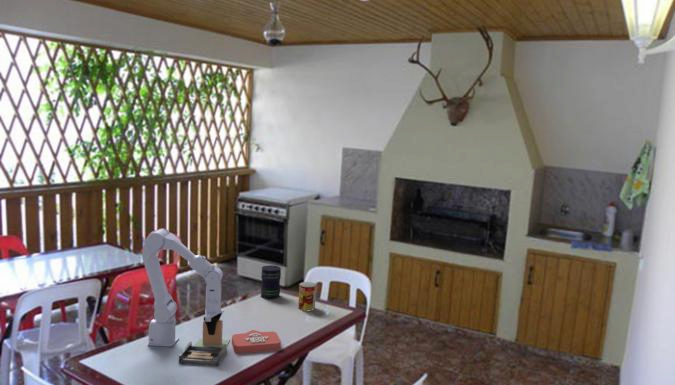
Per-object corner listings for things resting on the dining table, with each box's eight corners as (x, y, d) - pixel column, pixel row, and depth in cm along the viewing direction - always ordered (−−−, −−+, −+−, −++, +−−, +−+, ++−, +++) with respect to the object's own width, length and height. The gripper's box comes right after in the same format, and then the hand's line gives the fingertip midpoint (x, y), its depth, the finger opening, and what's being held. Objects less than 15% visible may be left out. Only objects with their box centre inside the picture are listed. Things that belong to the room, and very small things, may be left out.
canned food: (297, 305, 245) (298, 281, 243) (313, 305, 246) (314, 281, 245) (299, 311, 237) (300, 286, 236) (315, 311, 238) (317, 286, 237)
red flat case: (274, 327, 207) (281, 341, 193) (274, 335, 208) (281, 351, 194) (230, 330, 202) (235, 345, 188) (230, 339, 202) (234, 355, 188)
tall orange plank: (202, 344, 194) (203, 321, 193) (204, 341, 197) (204, 319, 196) (220, 345, 194) (221, 322, 193) (222, 342, 197) (222, 320, 196)
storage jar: (268, 300, 250) (269, 271, 248) (256, 295, 256) (257, 267, 255) (283, 296, 257) (285, 268, 256) (271, 292, 264) (272, 264, 262)
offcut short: (190, 360, 181) (190, 354, 181) (192, 357, 183) (192, 352, 183) (209, 361, 181) (210, 355, 181) (211, 358, 183) (211, 353, 183)
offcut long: (186, 363, 179) (187, 357, 179) (188, 360, 181) (189, 354, 181) (211, 364, 179) (211, 359, 178) (213, 362, 181) (213, 356, 180)
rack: (178, 363, 178) (178, 355, 177) (189, 349, 190) (189, 341, 189) (218, 366, 177) (218, 357, 177) (226, 351, 189) (226, 344, 189)
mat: (193, 347, 192) (193, 346, 191) (199, 339, 199) (199, 338, 199) (224, 349, 191) (224, 348, 191) (229, 340, 199) (229, 340, 199)
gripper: (218, 305, 186) (217, 341, 188) (228, 293, 201) (227, 326, 202) (200, 304, 186) (199, 339, 188) (210, 292, 201) (209, 325, 202)
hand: (212, 332), depth 195 cm, fingers closed on tall orange plank, 2 cm apart
